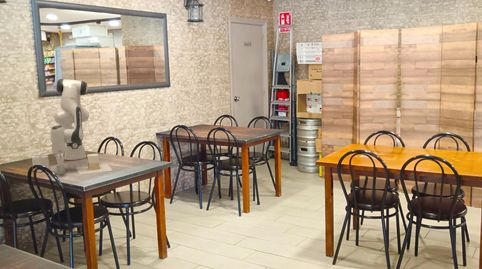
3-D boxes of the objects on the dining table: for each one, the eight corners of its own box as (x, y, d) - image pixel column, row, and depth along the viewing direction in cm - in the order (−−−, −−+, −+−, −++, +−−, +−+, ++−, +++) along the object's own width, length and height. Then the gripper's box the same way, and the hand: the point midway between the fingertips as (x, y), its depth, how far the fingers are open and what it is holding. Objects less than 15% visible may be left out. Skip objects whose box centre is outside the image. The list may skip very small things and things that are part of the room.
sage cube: (56, 173, 329) (56, 166, 328) (64, 172, 331) (63, 165, 330) (57, 174, 324) (56, 167, 324) (64, 173, 326) (64, 166, 326)
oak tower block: (88, 168, 338) (87, 161, 337) (98, 167, 341) (97, 160, 340) (89, 170, 332) (88, 163, 331) (99, 169, 334) (99, 162, 334)
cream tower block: (87, 161, 337) (87, 154, 336) (97, 160, 340) (97, 153, 339) (88, 163, 331) (88, 156, 330) (99, 162, 334) (98, 155, 333)
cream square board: (76, 168, 343) (75, 167, 343) (107, 164, 352) (107, 163, 351) (79, 175, 321) (79, 174, 321) (112, 171, 330) (112, 170, 330)
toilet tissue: (35, 173, 331) (33, 159, 330) (31, 170, 341) (29, 156, 339) (51, 170, 337) (50, 156, 336) (46, 167, 347) (45, 154, 345)
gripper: (65, 151, 317) (67, 171, 319) (62, 147, 335) (64, 166, 337) (55, 152, 314) (56, 173, 316) (53, 147, 333) (55, 167, 335)
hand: (60, 169), depth 327 cm, fingers open, 8 cm apart
